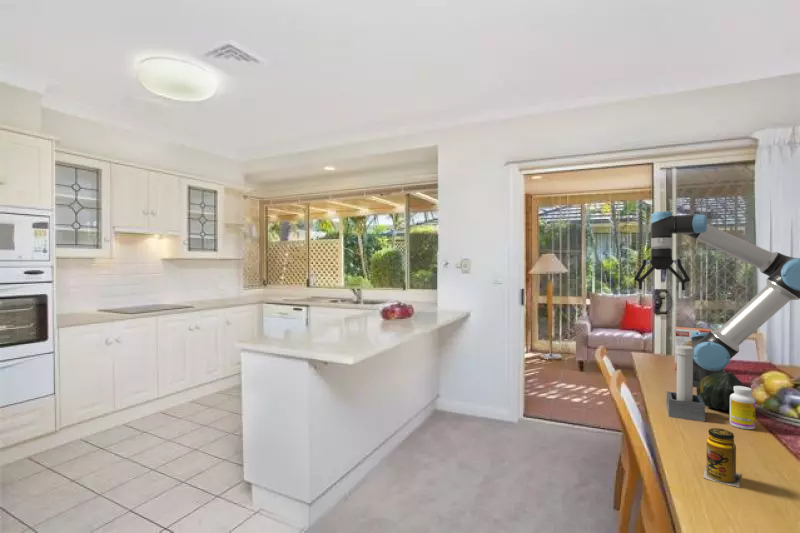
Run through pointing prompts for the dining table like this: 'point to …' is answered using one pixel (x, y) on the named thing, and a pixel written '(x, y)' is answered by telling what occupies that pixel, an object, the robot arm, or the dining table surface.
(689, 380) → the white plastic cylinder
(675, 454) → the dining table surface
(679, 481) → the dining table surface
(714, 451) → the condiment
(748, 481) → the dining table surface
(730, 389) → the squash
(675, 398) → the collar
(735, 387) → the supplement bottle
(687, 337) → the cracker box
